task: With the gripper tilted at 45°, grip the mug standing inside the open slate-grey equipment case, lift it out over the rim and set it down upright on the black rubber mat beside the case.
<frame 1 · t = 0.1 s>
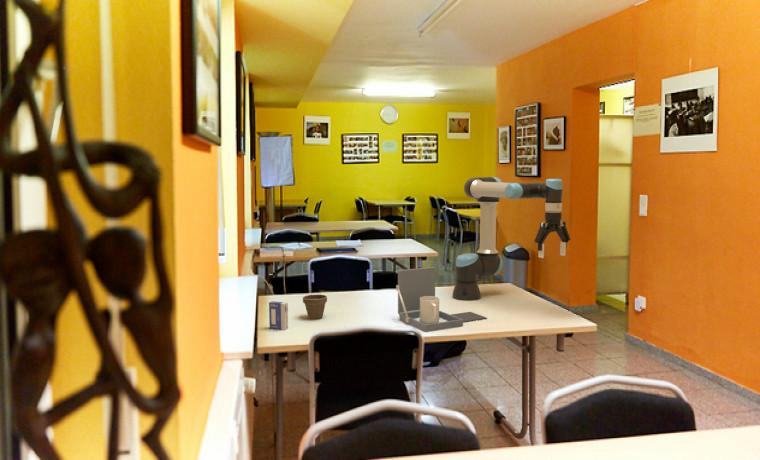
hand: (552, 256, 279), 28 cm above the table, tool pointing down, fingers open, 13 cm apart
equipment case: (430, 323, 268), on the table
rubber mat: (465, 317, 277), on the table
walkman: (278, 329, 259), on the table
flower pot: (315, 318, 278), on the table
mug: (430, 323, 268), resting in equipment case
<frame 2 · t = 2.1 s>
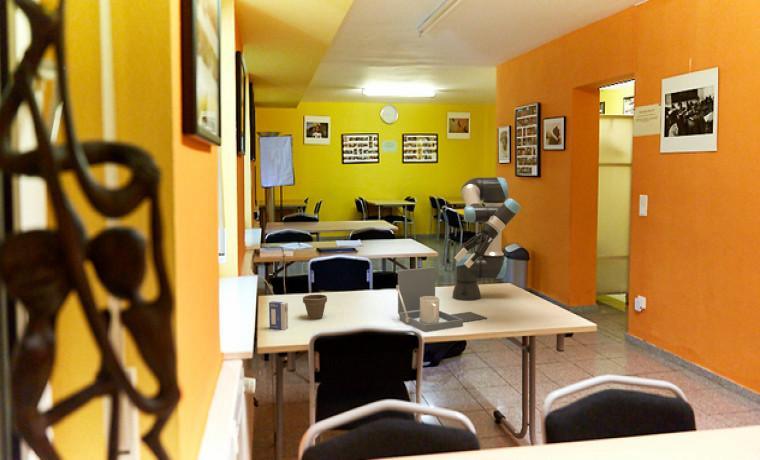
hand: (461, 263, 265), 27 cm above the table, tool tilted 45°, fingers open, 13 cm apart
nothing on the table moved.
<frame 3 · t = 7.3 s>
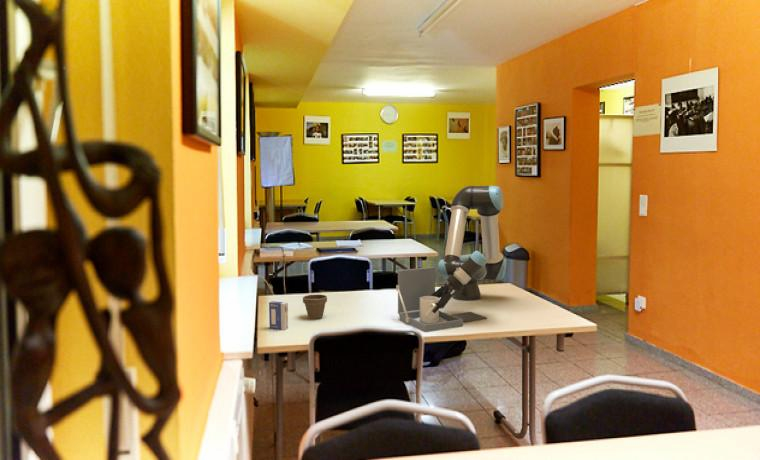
hand: (424, 313, 267), 4 cm above the table, tool tilted 45°, fingers closed on mug, 12 cm apart
mug: (430, 323, 268), resting in equipment case, touching gripper
everything else where it was.
when the fingers open (6 cm above the table, at t = 13.4 s): mug drops 1 cm, resting on rubber mat.
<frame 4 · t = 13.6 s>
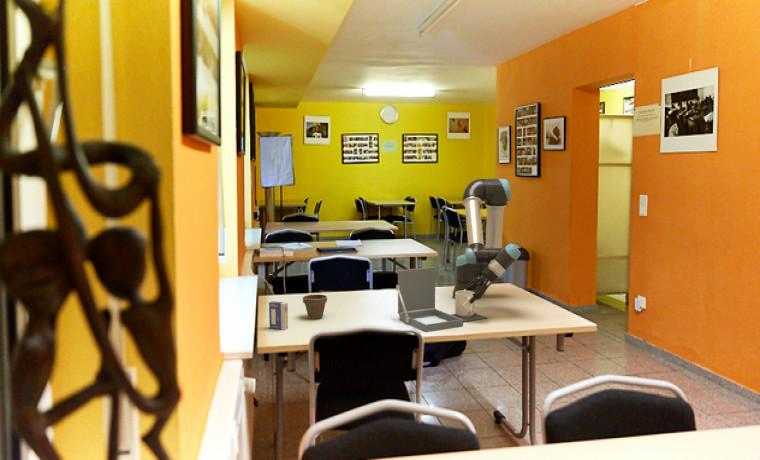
hand: (460, 304, 276), 7 cm above the table, tool tilted 45°, fingers open, 13 cm apart
mug: (465, 316, 277), resting on rubber mat
everything else where it was.
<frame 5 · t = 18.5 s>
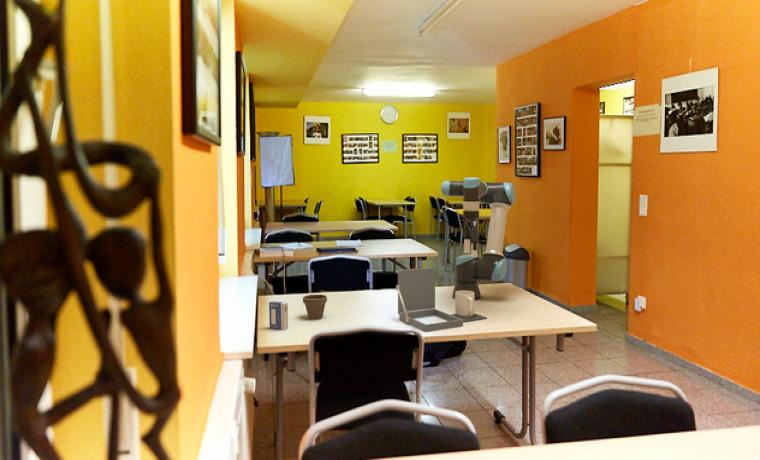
hand: (470, 254, 281), 29 cm above the table, tool pointing down, fingers open, 13 cm apart
nothing on the table moved.
at the end: mug inside the target area on the rubber mat (0.3 cm from its centre), point 0.4 cm above the rubber mat's base; mug tilted 0°; the gripper is holding nothing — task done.
